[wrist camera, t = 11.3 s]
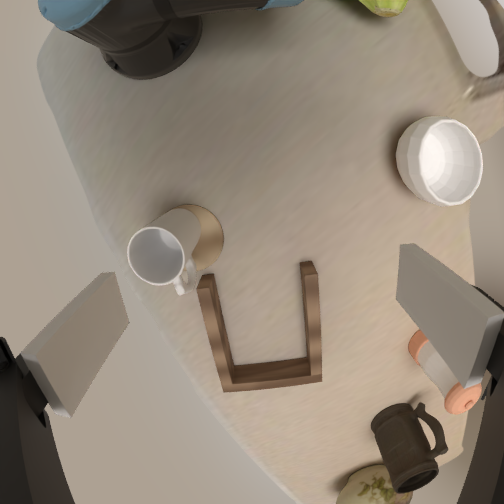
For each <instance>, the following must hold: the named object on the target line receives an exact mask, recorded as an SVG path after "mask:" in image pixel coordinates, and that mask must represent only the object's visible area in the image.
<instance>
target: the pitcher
mask: <svg viewBox="0 0 504 504" xmlns="http://www.w3.org/2000/svg"><path fill="white" fill-rule="evenodd" d="M412 495H413V491H412V492H409V493H404V494H398V493H396V492H395V490H394V489H393V487H392V482H391V479H390V476H389V472H388V470H387V468H386V466H385V465H373V466H369V467H366V468H363V469H361V470H359V471H357V472H355V473H354V474H352V475H351V476H350V477H349V479H348V483H347V484H346V486H345V487H344V488H343V490H342V491H341V493H340V494H339V496H338V498H337V501H336V504H409V503H410V501H411V499H412Z"/></svg>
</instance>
